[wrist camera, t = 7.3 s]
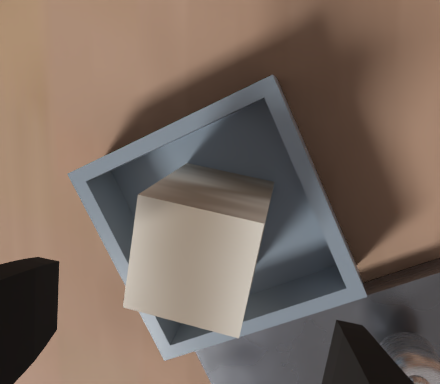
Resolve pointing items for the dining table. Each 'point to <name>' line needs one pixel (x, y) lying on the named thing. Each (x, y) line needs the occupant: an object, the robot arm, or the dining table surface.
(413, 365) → the crank
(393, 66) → the dining table surface
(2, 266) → the robot arm
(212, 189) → the block
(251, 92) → the tray
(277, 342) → the crank plate
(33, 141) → the dining table surface
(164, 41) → the dining table surface
